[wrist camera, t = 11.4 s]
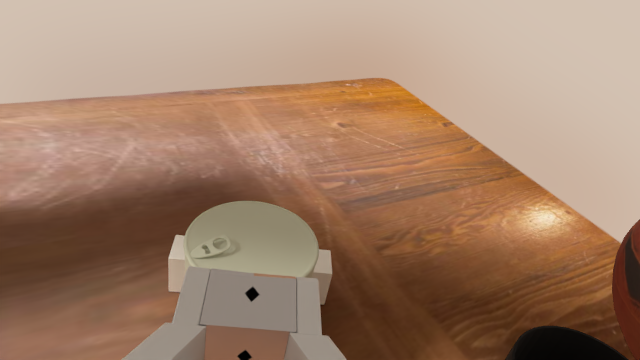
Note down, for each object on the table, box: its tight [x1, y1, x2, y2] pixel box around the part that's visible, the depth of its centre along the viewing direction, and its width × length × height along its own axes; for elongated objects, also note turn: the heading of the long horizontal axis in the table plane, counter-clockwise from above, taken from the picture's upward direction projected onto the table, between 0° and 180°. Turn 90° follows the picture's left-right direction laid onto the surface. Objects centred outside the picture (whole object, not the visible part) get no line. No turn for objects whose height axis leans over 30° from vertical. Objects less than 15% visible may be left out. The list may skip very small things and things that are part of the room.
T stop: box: [168, 235, 332, 305], centre depth 45 cm, size 8×14×4 cm, turn 92°
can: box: [183, 201, 319, 278], centre depth 35 cm, size 9×9×12 cm
